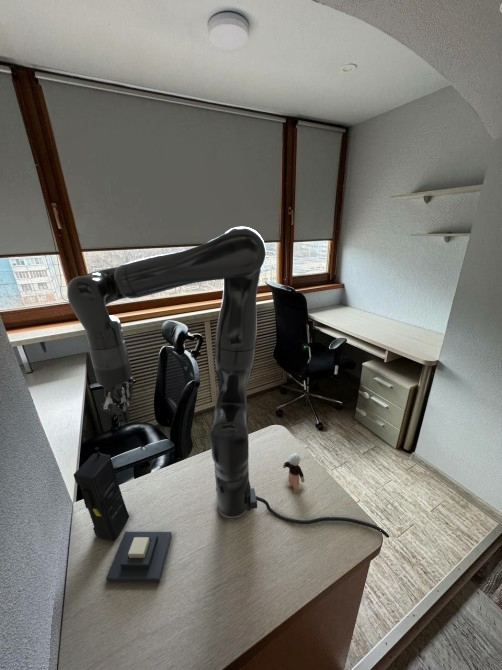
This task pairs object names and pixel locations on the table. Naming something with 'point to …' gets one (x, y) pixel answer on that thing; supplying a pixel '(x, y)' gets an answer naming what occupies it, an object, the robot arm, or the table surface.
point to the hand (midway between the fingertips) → (125, 421)
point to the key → (139, 547)
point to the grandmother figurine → (294, 472)
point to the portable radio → (102, 496)
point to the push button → (140, 559)
